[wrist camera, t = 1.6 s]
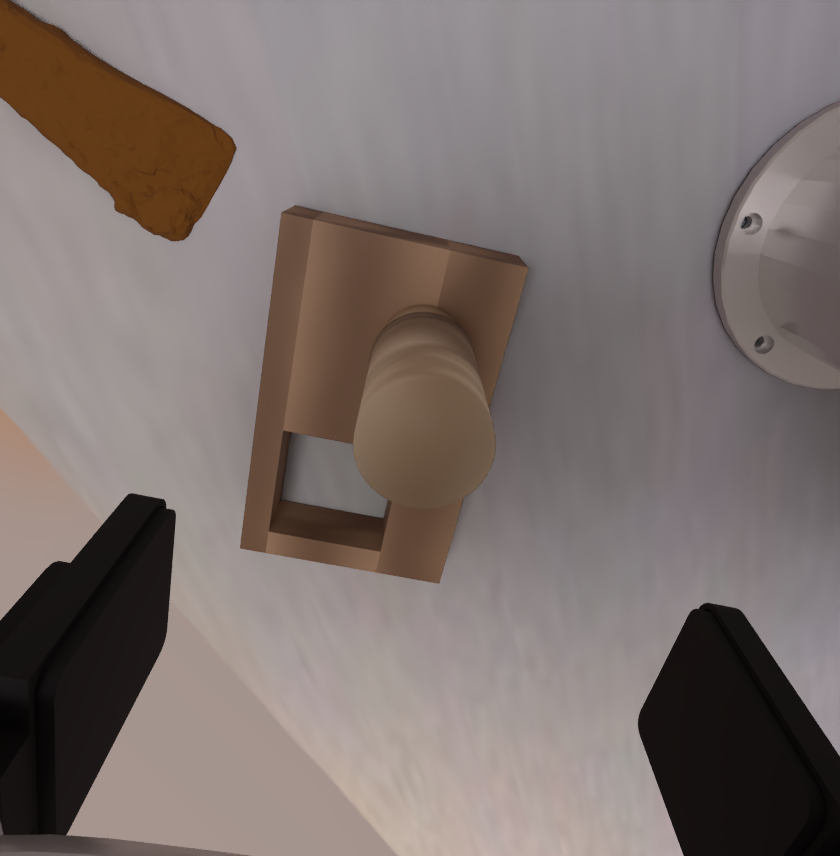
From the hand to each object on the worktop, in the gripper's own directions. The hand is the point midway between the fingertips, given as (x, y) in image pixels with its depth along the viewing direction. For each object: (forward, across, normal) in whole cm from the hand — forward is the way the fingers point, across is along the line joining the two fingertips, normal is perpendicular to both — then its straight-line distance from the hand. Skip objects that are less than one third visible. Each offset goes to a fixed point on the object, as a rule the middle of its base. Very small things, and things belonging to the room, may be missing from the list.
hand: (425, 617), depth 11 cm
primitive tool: (+21, +18, -8) cm, 29 cm away
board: (+20, +2, +4) cm, 21 cm away
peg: (+17, 0, 0) cm, 17 cm away
